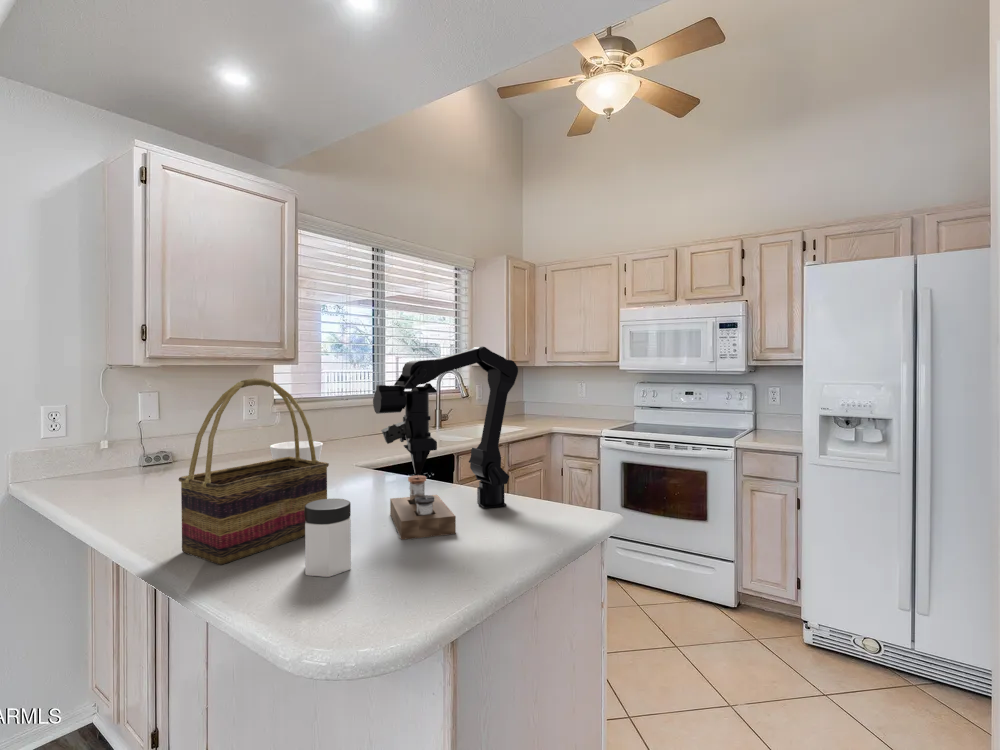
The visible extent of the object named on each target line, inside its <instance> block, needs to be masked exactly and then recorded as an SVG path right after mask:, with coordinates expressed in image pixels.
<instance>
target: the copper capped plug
mask: <svg viewBox="0 0 1000 750" xmlns="http://www.w3.org/2000/svg"><path fill="white" fill-rule="evenodd" d="M407 481H408V483H409V497H410V504H417V503H416V502H415V497H417V496H422V495H426V494H425V493H426V491H425V489H426V488H425V486H426V485H425V484H426V483H425V482H426V481H427V476H425V475H421V474H420V475H416V474H415V475H410V476H408V479H407Z"/></svg>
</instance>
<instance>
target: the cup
mask: <svg viewBox="0 0 1000 750" xmlns="http://www.w3.org/2000/svg"><path fill="white" fill-rule="evenodd" d="M313 444H314V449H315V456H316V460H317V461H319V462H320V459H321V455H322V450H323V446H324V445H323V444H324V443H323V442H321V441H315V440H313ZM269 449H270V450H269V451H270V453H271V454H270V455H271V458H272V459H271V460H274V459H279V458H284V457H295V456H296V454H295V440H294V441H285V442H284V441H283V442H277V443H273V444H271V445H269ZM299 452H300V458H301V459H306V460H311V451H310V446H309V441H308V440H299ZM295 458H296V457H295Z"/></svg>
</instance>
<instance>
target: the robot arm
mask: <svg viewBox="0 0 1000 750" xmlns="http://www.w3.org/2000/svg"><path fill="white" fill-rule="evenodd" d="M474 364H476V365H478V366H479V367H480V369H482V370H483V371H484V372H486V373H487V384H488V388H489V396H488V401H487V406H486V407H487V408H486V413H485V417H484V424H483V428H482V434H481V439H480V442H479V444H478V446H477V447H476V448H475V447H472V448H471V451H470V458H469V460H468V463H470V465H469V466H470V467H469V468H470V470H471V472H472V473H473V474H474V475H475V479H476V480H477V481H479V482H478V487H477V490H476V491H477V494H476V495H477V498H476V500H477V501H476V502H477V504H478V505H480V507H482V508H483V509H489V508H490V509H491V508H501V507H507V506H508V505H507V503H505V485H506V484H508V483H509V480H510V479H509V478H510V475H509V474H508V473H507V472H506V471H505V470H504V469H503V468H502V454H501V450H500V448H499V444H500V438H501V433H502V429H503V428H502V427H503V422H504V417H505V410H506V406H507V405H506V404H507V400H508V394H509V393H510V391H511V390H512V388H513V386H514V385H515V383H516V381H517V377H518V375H519V367H518V366H517V364H516V362H515V361H513V360H511V359H507V358H505V357H504V356H502V355H500V354H497V353H495V352H493V351H492V350H490V349H489V348H488V347H485V346H475V347H472V348H471V349H467V350H464V351H459V352H456V353H453V354H449V355H445V356H441V357H439V358H433V359H422V360H421V359H420V360H409V361H408V362H406V363H405V364H404V365H403V366H402V369H401V370H402V371H401V375H399V377H398V379H396V381H395V383H394V384H392V385H386V384H377V385H376V390H375V392H374V395H373V399H372V403H373V404H372V405H373V409H374V412H375V413H376V414H377V415H378V414H394V413H395V414H397V413H401V412H402V411H403V410H405V411H404V413H405V414H404V415H403V416H402V421H401V422H397V423H393V424H392V425H389V426H386V427H385V428H383V429H381V433H382V435H383V438H384V441H385V443H386V444H387V445H389V444H391V443H394V442H395V441H397V440H399V442H401V443H404V442H405V441H406V444H404V445H403V448H405V449H406V450H407V451H408V452H409V454H410V458H411V462H412V466H413V470H414V475H415V476H416V475H421V473H422V470H423V468H424V466H425V463H426V461H427V459H428V456H429V455H430V454H431V453H430V452H431V451H437V450H438V442H437V440H436V439H434V438H433V437H432V436H431V432H430V428H429V427H430V421H431V415H430V411H429V410H430V407H429V405H430V402H429V401H430V399H429V397H430V396H429V395H430V394H435V393H438V390H437V389H436V388H435V387H433V385H432V384H431V383H430V382H431V381H433V380H435V379H437V378H438V377H439V376H441V375H443V374H444V373H448V372H451V371H455V370H458V369H460V368H461V369H462V368H465V367H467V366H471V365H474ZM419 385H422V386H419Z"/></svg>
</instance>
